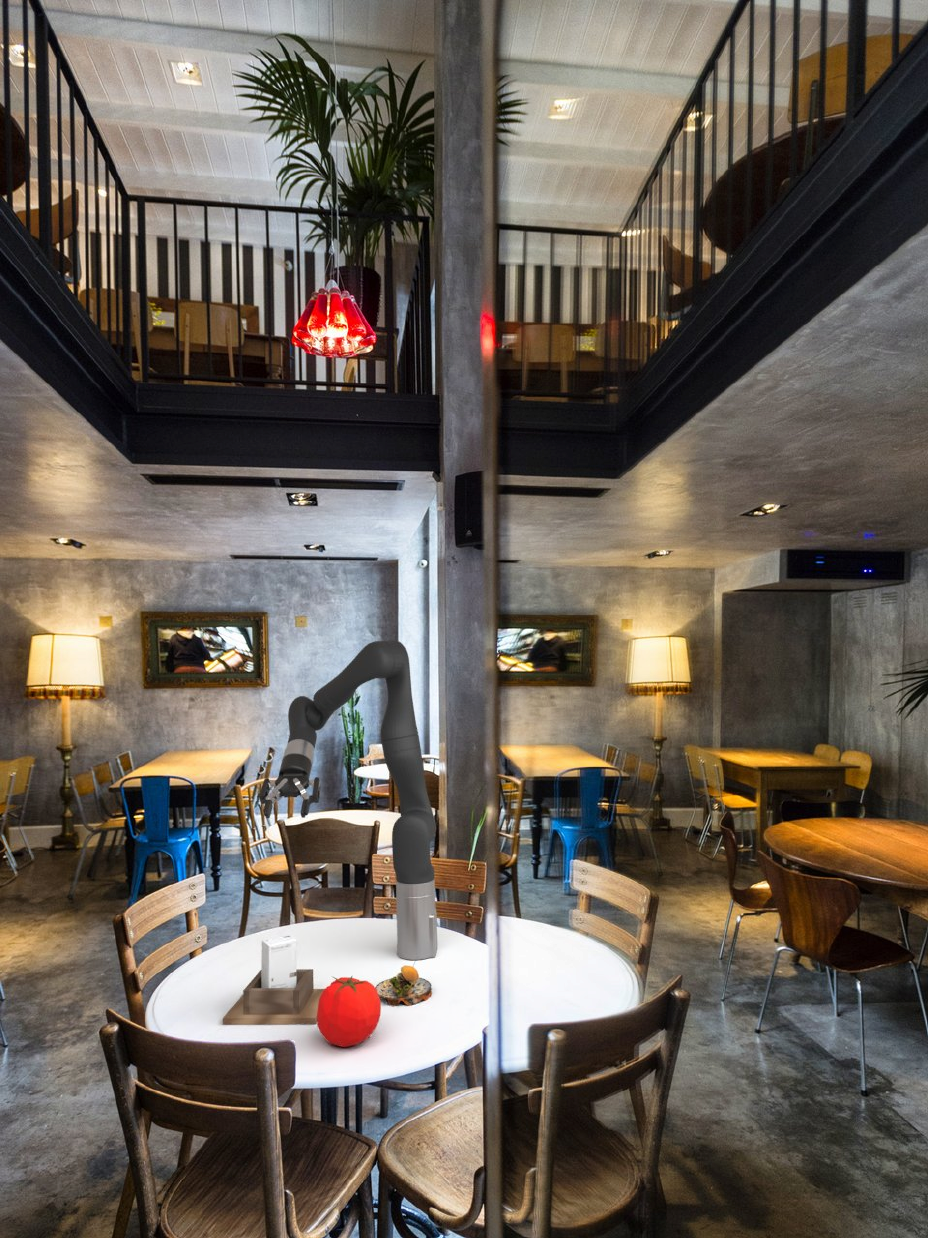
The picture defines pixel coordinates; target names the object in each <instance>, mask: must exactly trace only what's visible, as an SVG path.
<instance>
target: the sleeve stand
mask: <svg viewBox="0 0 928 1238" xmlns="http://www.w3.org/2000/svg"><path fill="white" fill-rule="evenodd" d="M324 989H325V988H314V968H313V969H311V968H309V969H308V968H305V969H304V968H302V969H301V968H300V969H297V968H296V987H295V988H261V969H260V970H259V971H258V972H257V973H256V975H255V976H254V977H253V978H252V979H251V981H250V982H249V984H247V986H245V988H244V989H243V990H242V994H241V996H240V997H239V998H238V999H237V1000H236V1002H235V1003H234V1004H233V1005H232V1007H231V1008H230V1009H229V1010H228V1011H227V1012H226V1014H225V1015H224V1016H223V1018H222V1025H223V1026H224V1025H226V1026H228V1025H229V1026H230V1025H231V1026H235V1025H240V1026H242V1025H244V1026H245V1025H246V1026H247V1025H248V1026H249V1025H250V1026H251V1025H252V1026H253V1025H257V1026H258V1025H262V1026H263V1025H264V1026H265V1025H272V1026H273V1025H275V1026H276V1025H316V1024H317V1010H318V1003H319V998H320V996H321V994H322V992H323V990H324Z"/></svg>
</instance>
